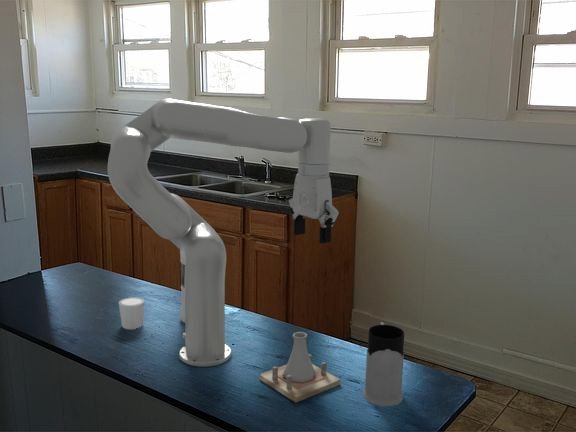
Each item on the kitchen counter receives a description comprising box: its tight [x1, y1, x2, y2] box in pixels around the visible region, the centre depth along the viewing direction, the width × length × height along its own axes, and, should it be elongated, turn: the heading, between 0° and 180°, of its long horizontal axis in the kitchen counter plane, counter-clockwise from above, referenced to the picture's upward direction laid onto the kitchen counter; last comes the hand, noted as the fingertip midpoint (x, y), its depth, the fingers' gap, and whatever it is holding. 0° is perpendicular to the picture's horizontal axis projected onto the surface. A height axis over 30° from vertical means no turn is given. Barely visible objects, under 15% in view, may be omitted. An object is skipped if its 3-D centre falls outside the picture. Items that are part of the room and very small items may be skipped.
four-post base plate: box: [258, 353, 341, 403], centre depth 138 cm, size 13×13×4 cm
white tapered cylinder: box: [118, 296, 146, 330], centre depth 167 cm, size 7×7×7 cm
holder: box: [362, 322, 405, 407], centre depth 134 cm, size 9×14×15 cm, turn 177°
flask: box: [282, 331, 316, 383], centre depth 138 cm, size 7×7×10 cm
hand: (312, 238), depth 152 cm, fingers open, 9 cm apart
